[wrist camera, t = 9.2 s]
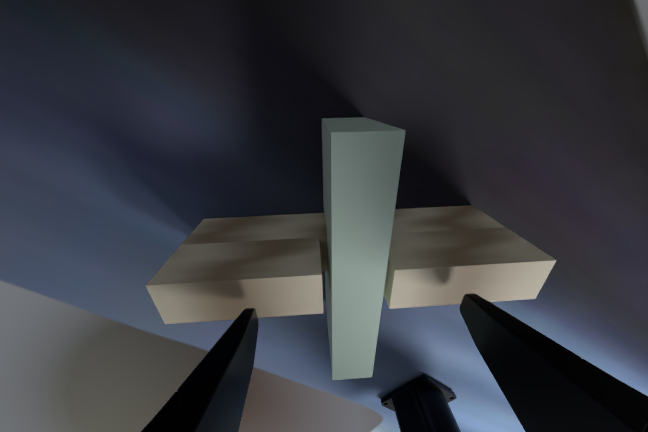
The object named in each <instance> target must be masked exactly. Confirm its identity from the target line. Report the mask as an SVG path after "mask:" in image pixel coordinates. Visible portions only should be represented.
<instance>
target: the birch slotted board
mask: <svg viewBox="0 0 648 432" xmlns="http://www.w3.org/2000/svg"><path fill="white" fill-rule="evenodd" d="M555 262H556V260H555V259H554V258H552V257H551V256H549V255H548V254H546V253H544V252H543V251H541V250H540V249H538V248H537V247H535V246H534V245H532V244H531V243H529V242H528V241H526V240H524V239H523V238H521V237H520V236H518V235H517V234H515V233H514V232H512V231H511V230H509V229H507V228H506V227H504V226H503V225H501V224H500V223H498V222H497V221H495V220H494V219H492V218H491V217H489V216H487V215H486V214H484V213H483V212H481V211H480V210H478V209H477V208H475V207H474V206H472V205H469V206H449V207H429V208H409V209H395V213H394V220H393V227H392V235H391V242H390V249H389V257H388V264H387V271H386V279H385V286H384V297H385V299H386V302H387V304H388V307H389V309H394V308H408V307H423V306H437V305H452V304H461V302H462V299H463V296H464V295H465V294H469V293H475V294H477V295H479V296H480V297H482V298H484V299H485V300H487V301H489V302H496V301H510V300H525V299H535V298H536V297H537V295H538V293H539V291H540V289H541V288H542V286H543V284H544V282H545V280H546V278H547V277H548V275H549V273H550V271H551V269H552V268H553V266H554V264H555ZM322 271H327V229H326V221H325V214H324V213H309V214H289V215H269V216H249V217H229V218H209V219H203V220H202V221H201V223H200V224H199V225H198V226H197V227H196V228H195V229H194V231H193V232H192V233H191V234H190V235H189V236H188V237H187V239H186V240H185V241H184V242H183V243H182V244H181V245H180V247H179V248H178V249H177V250H176V251H175V252H174V253H173V255H172V256H171V257H170V258H169V259H168V260H167V261H166V263H165V264H164V265H163V266H162V267H161V268H160V269H159V270H158V272H157V273H156V274H155V275H154V276H153V277H152V278H151V280H150V281H149V282H148V283H147V284H146V285H145V286H146V288H147V290H148V292H149V294H150V296H151V298H152V300H153V302H154V304H155V306H156V308H157V309H158V311H159V313H160V315H161V317H162V319H163V321H164V323H165V324H175V323H190V322H204V321H219V320H233V319H236V318H237V317H238V316H239V315H240V314H241V312H242V311H243V310H244V309H246V308H255V309H256V313H257V317H258V318H262V317H277V316H292V315H306V314H321V313H323V290H322Z"/></svg>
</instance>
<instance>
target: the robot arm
mask: <svg viewBox="0 0 648 432" xmlns="http://www.w3.org/2000/svg"><path fill="white" fill-rule="evenodd" d="M460 312H461V315H462V317H463V319H464V321H465V323H466V325H467V328H468V330H469V332H470V334H471V336H472V338H473V340H474V343H475V345H476V347H477V349H478V350H479V352H480V354H481V356H482V357H483V359H484V361H485V363H486V364H487V366H488V368H489V369H490V371H491V373H492V375H493V376H494V378H495V380H496V382H497V383H498V385H499V387H500V388H501V390H502V392H503V394H504V395H505V397H506V399H507V401H508V402H509V404H510V406H511V407H512V409H513V411H514V413H515V414H516V416H517V418H518V419H519V421H520V423H521V425H522V426H523V428H524V430H525V432H648V396H646V395H644V394H642V393H641V392H639V391H637V390H635V389H634V388H632V387H630V386H628V385H627V384H625V383H623V382H621V381H619V380H618V379H616V378H614V377H613V376H611V375H609V374H608V373H606V372H604V371H603V370H601V369H599V368H597V367H596V366H594V365H593V364H591V363H589V362H588V361H586V360H584V359H581V357H579V356H578V355H576V354H574V353H573V352H571V351H569V350H568V349H566V348H564V347H563V346H561V345H559V344H558V343H556V342H555V341H553V340H551V339H550V338H548V337H546V336H545V335H543V334H541V333H540V332H538V331H536V330H535V329H533V328H531V327H530V326H528V325H527V324H525V323H523V322H522V321H520V320H518V319H517V318H515V317H513V316H512V315H510V314H508V313H507V312H505V311H503V310H502V309H500V308H499V307H497V306H495V305H494V304H492V303H490V302H489V301H487V300H485V299H484V298H482V297H480V296H479V295H477V294H475V293H469V294H465V295H464V296H463V299H462V302H461V305H460ZM257 334H258V317H257V313H256V309H255V308H246V309H244V310H243V311H242V312H241V314H240V315H239V316H238V317H237V318H236V320H235V321H234V322H233V323H232V324H231V326H230V327H229V328H228V329H227V330H226V332H225V333H224V334H223V335H222V337H221V338H220V339H219V340H218V341H217V343H216V344H215V345H214V346H213V347H212V349H211V350H210V351H209V352H208V353H207V355H206V356H205V357H204V358H203V359H202V361H201V362H200V363H199V364H198V366H197V367H196V368H195V369H194V370H193V372H192V373H191V374H190V375H189V376H188V378H187V379H186V380H185V381H184V382H183V384H182V385H181V386H180V387H179V388H178V392H175V393H174V394H173V396H172V397H171V398H170V399H169V400H168V402H167V403H166V404H165V405H164V406H163V407H162V409H161V410H160V411H159V412H158V413H157V415H156V416H155V417H154V418H153V419H152V420H151V421H150V422H149V423H148V425H147V426H146V427H145V428H144V429H143V430H142V431H141V432H238V430H239V426H240V421H241V417H242V413H243V409H244V404H245V399H246V395H247V391H248V387H249V383H250V378H251V374H252V370H253V365H254V357H255V349H256V341H257ZM454 399H456V395H455V393H454V392H452V391H451V390H449V389H448V388H446V387H444V386H443V385H441V384H439V383H438V382H436V381H434V380H433V379H431V378H430V377H428V376H421V377H419V378H418V379H416V380H414V381H412V382H411V383H409V384H407V385H405V386H403V387H402V388H400V389H398V390H396V391H395V392H393V393H391V394H389V395H387V396H386V397H384V398H382V399H381V403H382V406H384V407H387V408H389V409H391V410H393V411H395V413H396V417H397V420H398V424H399V428H400V431H401V432H461V431H460V429H459V427H458V424H457V422H456V420H455V418H454V416H453V414H452V411H451V409H450V407H449V405H448V402H450V401H452V400H454Z"/></svg>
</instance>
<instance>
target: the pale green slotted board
mask: <svg viewBox="0 0 648 432" xmlns="http://www.w3.org/2000/svg"><path fill="white" fill-rule="evenodd" d="M405 132H406V130H403V129H400V128H397V127H393V126H390V125H387V124H384V123H381V122H378V121H375V120H372V119H368V118H365V117H357V118H322V160H323V205H324V214H325V221H326V229H327V271H325V294H326V311H327V323H328V335H329V347H330V358H331V370H332V380H344V379H357V378H369V377H372V374H373V367H374V360H375V352H376V345H377V338H378V330H379V323H380V316H381V308H382V301H383V294H384V286H385V279H386V271H387V264H388V257H389V249H390V242H391V235H392V227H393V220H394V213H395V205H396V198H397V191H398V183H399V176H400V168H401V161H402V154H403V146H404V139H405Z"/></svg>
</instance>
